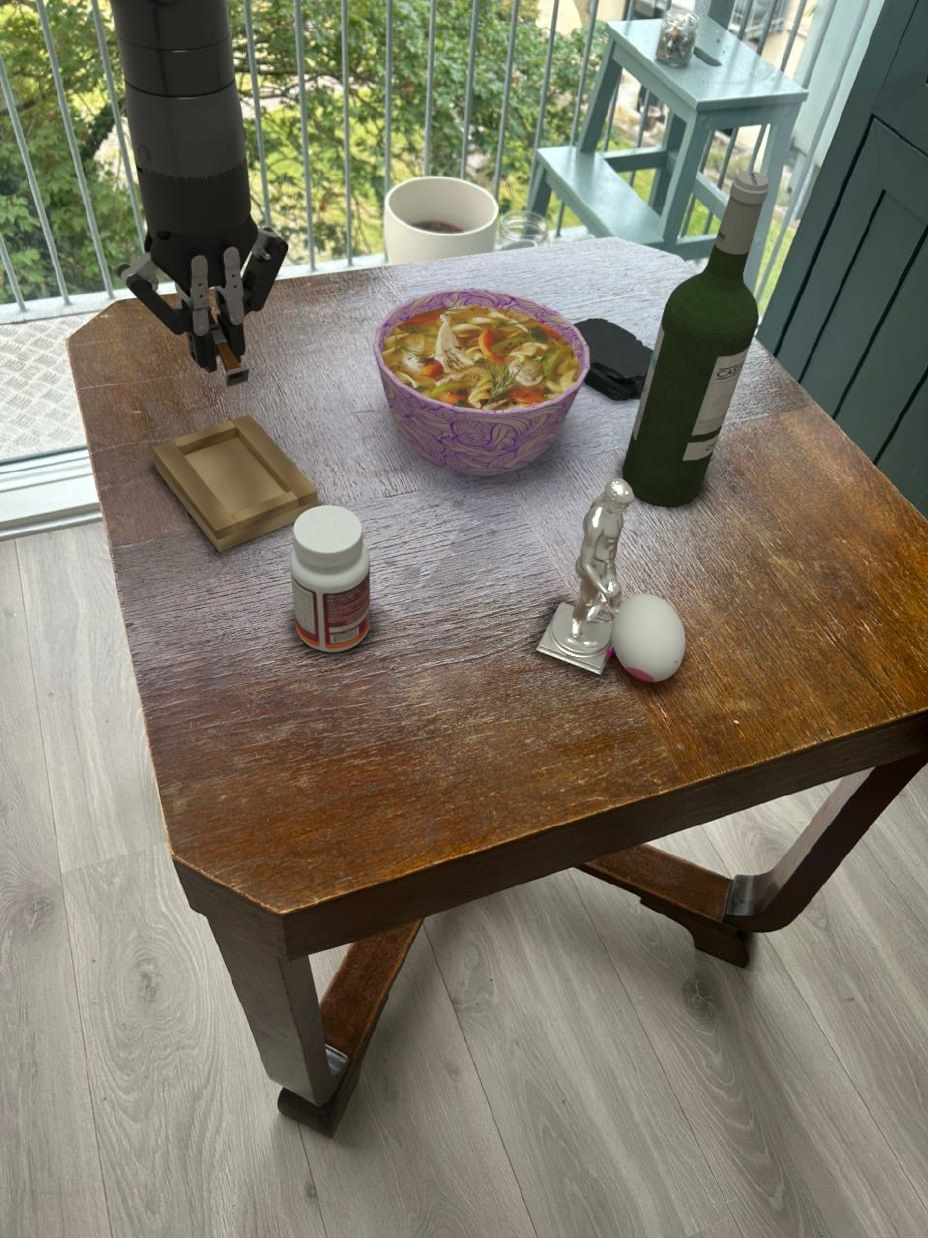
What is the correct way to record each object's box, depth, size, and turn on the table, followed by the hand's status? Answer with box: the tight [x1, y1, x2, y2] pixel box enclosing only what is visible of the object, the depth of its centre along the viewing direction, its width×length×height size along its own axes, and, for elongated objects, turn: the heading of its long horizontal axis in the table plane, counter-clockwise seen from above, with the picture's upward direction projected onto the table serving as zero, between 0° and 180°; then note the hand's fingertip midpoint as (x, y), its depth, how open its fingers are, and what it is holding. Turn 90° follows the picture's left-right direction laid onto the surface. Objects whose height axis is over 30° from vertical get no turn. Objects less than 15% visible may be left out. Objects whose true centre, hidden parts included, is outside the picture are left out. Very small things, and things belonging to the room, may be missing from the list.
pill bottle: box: [289, 504, 371, 653], centre depth 75 cm, size 6×6×11 cm
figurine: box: [535, 477, 636, 676], centre depth 73 cm, size 8×7×18 cm
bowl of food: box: [372, 287, 590, 477], centre depth 92 cm, size 20×20×12 cm
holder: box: [151, 413, 319, 553], centre depth 88 cm, size 10×13×3 cm
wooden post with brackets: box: [207, 306, 250, 388], centre depth 78 cm, size 2×8×4 cm, turn 33°
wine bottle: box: [621, 170, 770, 507], centre depth 83 cm, size 8×8×30 cm
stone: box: [572, 317, 654, 401], centre depth 105 cm, size 8×12×3 cm
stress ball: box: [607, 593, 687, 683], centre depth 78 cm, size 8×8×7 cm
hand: (219, 362), depth 78 cm, fingers closed on wooden post with brackets, 1 cm apart
